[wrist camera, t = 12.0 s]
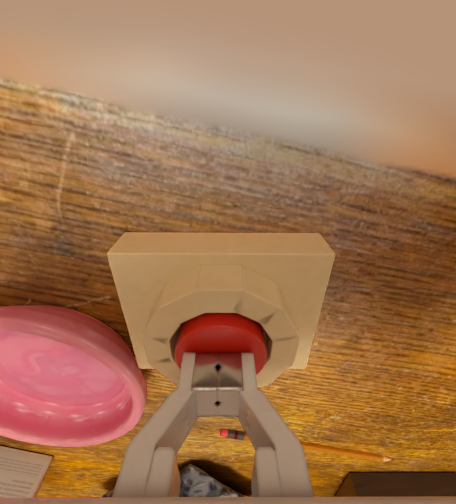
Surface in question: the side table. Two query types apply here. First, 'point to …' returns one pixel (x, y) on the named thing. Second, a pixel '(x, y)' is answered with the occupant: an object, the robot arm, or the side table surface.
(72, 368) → the saucer
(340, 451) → the pencil
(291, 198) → the side table surface
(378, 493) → the switch housing
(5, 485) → the small box
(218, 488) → the fossil
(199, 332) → the stop button
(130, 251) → the button box
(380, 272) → the side table surface
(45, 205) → the side table surface
